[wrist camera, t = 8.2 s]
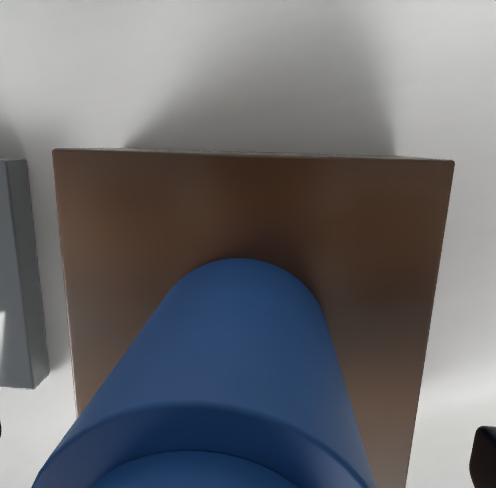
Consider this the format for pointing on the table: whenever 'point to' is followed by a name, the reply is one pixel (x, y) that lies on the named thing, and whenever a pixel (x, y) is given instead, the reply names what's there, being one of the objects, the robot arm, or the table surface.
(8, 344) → the slate tile
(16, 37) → the table surface
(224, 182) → the walnut block
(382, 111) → the table surface
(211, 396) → the blue bottle
